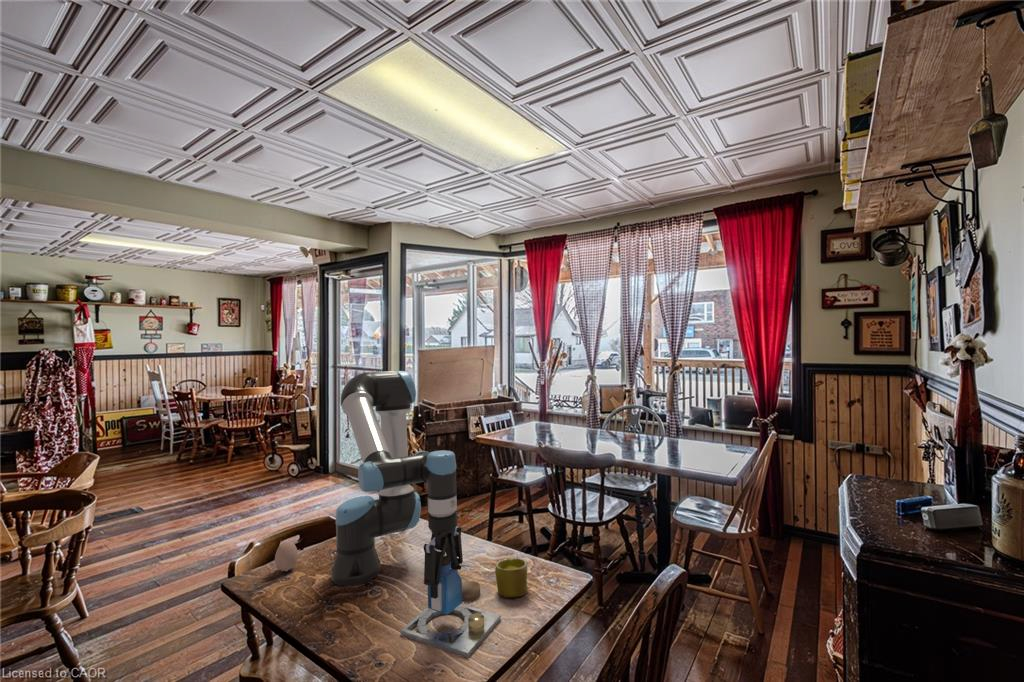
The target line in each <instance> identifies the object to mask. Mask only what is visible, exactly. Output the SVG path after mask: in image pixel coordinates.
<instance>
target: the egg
mask: <svg viewBox="0 0 1024 682" xmlns="http://www.w3.org/2000/svg"><path fill="white" fill-rule="evenodd" d="M298 559H299V551H298V548H297V546H296V544H295V543H294V542H292V541H290V540H285V541H283V542H281V543H280V544H279V546H278V548H276V552H275V555H274V565H275V567H276V568H277V569H278V570H279V571H280V570H281V571H280V572H283V571H286V570H289V569H291V568H292V569H294V567H295V566H296V564H297V563H298ZM292 569H291V570H292Z"/></svg>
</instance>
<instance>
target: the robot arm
mask: <svg viewBox="0 0 1024 682" xmlns="http://www.w3.org/2000/svg"><path fill="white" fill-rule="evenodd" d="M416 396H417V389H416V385H415V381H414V378H413V377H412V375H411V374H410V373H409V372H408V371H405V370H389V371H388V370H387V371H385V370H384V371H372V372H369V371H366V372H361V373H358V374H357V375H354V376H353V377H352V378H351V379H349V380H348V381H347V383H346V384H345V385H344V387H343V389H342V391H341V395H340V406H341V409H342V412H343V413H344V414H345V415H346V416H347V417H348V420H349V423H350V427H351V429H352V433H353V435H354V439H355V442H356V444H357V445H356V446H357V447H358V448H357V449H358V451H359V454H360V458H361V460H362V463H360V464H359V466H358V471H357V479H358V484H359V488H360V490H361V491H362V492H363V493H369V492H378V498H377V499H374V498H373V496H371V495H361V496H360V495H359V496H356V497H353V498H350V499H348V500H345V501H344V502H342V503H341V504H340V505H338V507H337V509H336V512H335V513H336V515H335V530H336V531H335V533H336V535H335V537H336V540H335V541H336V554H335V557H334V561H333V566H332V568H331V571H330V580H331V582H332V581H333V582H334V583H333V582H332V583H333V584H335V583H336V584H335V585H337V584H339V585H338V586H341V585H344V586H343V587H349V586H348V585H352V586H357V585H361V584H364V583H367V582H370V581H371V580H373V578H374V579H375V578H376V577H378V575H379V574H380V573H381V570H382V566H381V565H382V564H381V559H380V558H379V554H378V551H377V549H376V545H375V541H376V540H375V539H376V538H378V537H383V536H388V535H391V534H395V533H399V532H405V531H408V530H410V529H413V528H415V527H416V526H417V525H418V523H419V521H420V518H421V514H422V511H421V510H422V505H421V504H422V503H421V497H420V495H419V493H418V492H416V491H415V488H414V487H413V486H412V485H413V484H420V483H425V484H426V485H427V486H426V488H427V512H428V515H427V516H428V517H427V520H428V521H427V522H428V529H429V530H430V532H431V537H430V541H429V543H423V551H424V564H423V565H424V569H423V570H424V571H423V584H424V585H426V586H428V585H429V586H430V593H431V594H430V596H431V607H432V609H435V610H438V611H441V610H442V590H441V583H439V580H440V573H441V567H442V560H443V556H449V557H450V562H451V568H450V569H454V570H456V572H457V573H458V574H459V570H460V571H461V569H462V564H463V562H464V560H463V557H464V556H463V546H462V527H461V526H458V511H457V510H458V505H457V504H458V503H457V502H458V501H457V500H458V499H457V462H456V460H457V459H456V454H455V453H454V451H451V450H446V449H445V450H443V449H442V450H434V451H428V450H426V451H425V450H419V451H417V452H415V453H414V454H413V455H409V453H408V452H409V451H408V450H409V449H408V448H409V447H408V430H407V429H408V427H407V423H408V422H407V414H408V413H409V411H410V410H411V405H412V404H413V403H415V401H416ZM373 407H374V408H375V410H374V408H373ZM376 413H377V415H379V417H380V423H379V420H378V418H377V416H376ZM460 564H461V565H460Z"/></svg>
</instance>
